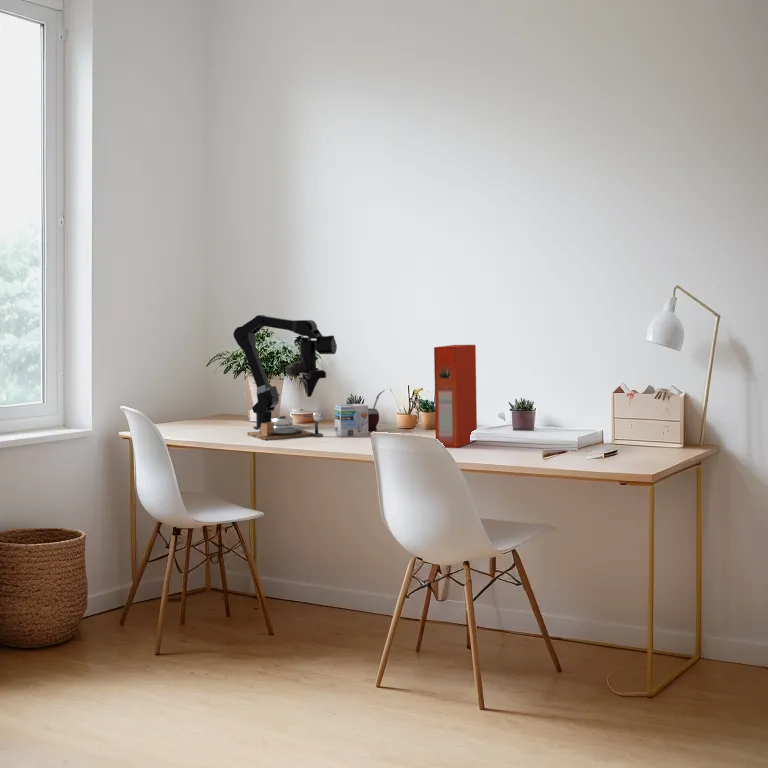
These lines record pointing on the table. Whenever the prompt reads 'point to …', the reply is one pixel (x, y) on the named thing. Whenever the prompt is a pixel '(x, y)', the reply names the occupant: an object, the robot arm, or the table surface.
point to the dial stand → (316, 423)
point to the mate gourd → (373, 416)
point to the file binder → (455, 394)
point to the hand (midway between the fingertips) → (309, 396)
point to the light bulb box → (351, 420)
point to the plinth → (272, 437)
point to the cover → (282, 422)
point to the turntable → (278, 430)
